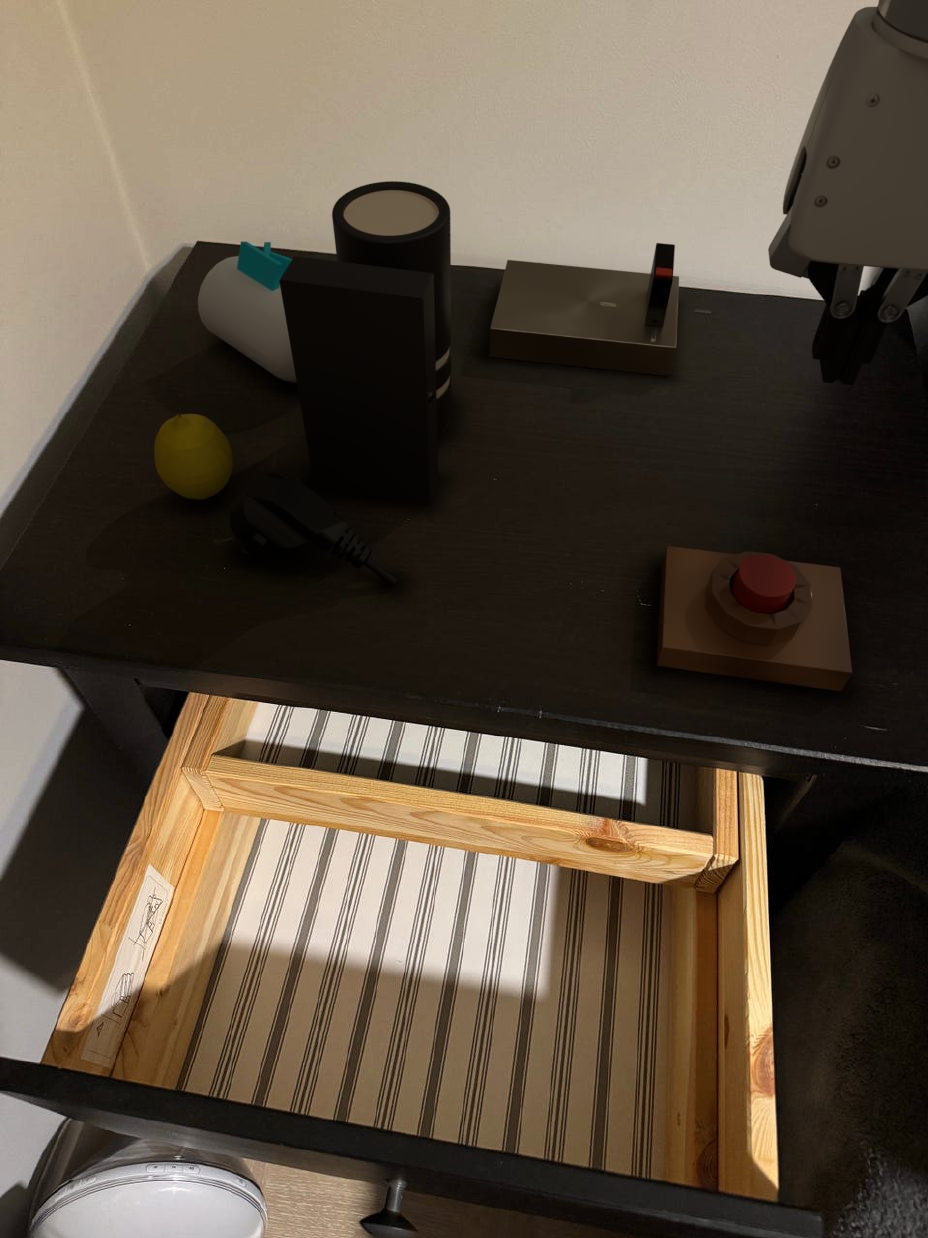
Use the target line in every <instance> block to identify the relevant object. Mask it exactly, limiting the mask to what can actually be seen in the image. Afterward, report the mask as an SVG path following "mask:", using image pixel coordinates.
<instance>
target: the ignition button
mask: <svg viewBox="0 0 928 1238" xmlns="http://www.w3.org/2000/svg"><path fill="white" fill-rule="evenodd" d="M779 558H780V557H779ZM779 558H776V557H774V556H770V555H754V556H751V557H748V558H747V559H745V560H744V561H743V562H742V563H741V565H740V567H739V570H738V572H737V575H736V578H735V580H734V583H733V593H734V596H735V598H736V599H737V601H738V602H739V603H740V604H741V605H742V606H744V607H745V608H747V609H749V610H751V611H754V612H757V613H764V614H767V613H774V612H777V611H779V610H781V609H782V608H783V607H784V606H785V605H786V603H787V601H788V599H789V597H790V595H791V593H792V591H793V588H794V586H795V583H796V578H795V574H794V572H793V570H792V569H791V567H790V566H789V565H788V564H787V563H785V562H784V561H782V560H781V559H782V558H781V559H779Z"/></svg>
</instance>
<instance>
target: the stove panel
mask: <svg viewBox="0 0 928 1238" xmlns="http://www.w3.org/2000/svg"><path fill="white" fill-rule="evenodd" d="M650 275H651V273H648V272H637V271H628V270H627V271H626V270H617V269H606V268H598V267H597V268H596V267H587V266H586V267H585V266H576V265H567V264H554V263H546V262H535V261H534V262H533V261H526V260H525V261H523V260H516V259H515V260H513V259H507V260H506V265H505V269H504V272H503V276H502V281H501V284H500V288H499V291H498V292H499V293H498V296H497V300H496V304H495V307H494V312H493V316H492V320H491V323H490V327H489V349H488V350H489V353H488V356H489V358H496V359H507V360H515V361H525V362H533V363H544V364H552V365H561V366H570V367H582V368H589V369H598V370H600V369H601V370H607V371H608V370H609V371H617V372H625V373H637V374H646V375H654V376H663V377H670V376H671V373H672V370H673V365H674V360H675V356H676V351H677V340H678V319H679V315H678V313H679V292H680V290H679V289H680V276H679V275H673V282H672V286H671V291H670V296H669V301H668V306H667V310H666V315H665V320H664V325H663V326H655V325H646V324H645V316H646V305H647V294H648V286H649V281H650ZM694 314H699V315H701V314H702V315H711V314H712V310H706V309H697V308H695V309H694Z"/></svg>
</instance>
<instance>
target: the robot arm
mask: <svg viewBox="0 0 928 1238" xmlns="http://www.w3.org/2000/svg"><path fill="white" fill-rule="evenodd" d="M825 74H826V75H825V77H824V79H823V82H822V84H821V87H820V89H819V91H818V94H817V97H816V99H815V102H814V104H813V107H812V110H811V113H810V115H809V117H808V120H807V124H806V126H805V129H804V131H803V135H802V136H801V140H800V143H799V146H798V148H797V151H796V154H795V157H794V161H793V163H792V166H791V169H790V172H789V176H788V179H787V183H786V186H785V190H784V195H783V201H782V215H786V216H785V217H784V219H783V221H782V222H781V224H780V226H779V227H778V230H777V232H776V233H775V235H774V237H773V239H772V240H771V242H770V243H769V246H768V249H767V250H768V251H767V252H768V261H769V266H770V268H771V269H773V270H775V271H777V272H778V271H779V272H780V273H784V274H787V275H790V276H793V277H797V278H799V279H801V278H803V279H807V280H809V282H810V283H811V285H812V287H814V289H815V290H816V292H817V293H818V294H819V296H820V297H821V298H822V300H823V302H824V303H825V306H824V308H823V311H822V314H821V317H820V319H819V323H818V326H817V328H816V331H815V334H814V337H813V340H812V345H811V346H812V347H811V355H812V359H813V360H819V366H820V373H821V379H822V383H825V384H834V383H835V382H838V381H839V382H841V383H842V385H848V386H853V385H854V384H855V383H856V380H857V378H858V375H859V374H860V371H861V368H862V366H863V364H864V365H866V364H868V365H869V364H871V363H872V361H873V359H874V357H875V354H876V352H877V350H878V348H879V345H880V343H881V340H882V338H883V335H884V333H885V330H886V328H887V326H888V324H890V323H891V324H892V323H894V322H896V321H897V320H899V319H900V318H901V316H902V315H903V313H904V311H905V310H906V308H908V307H910V306H912V305H913V304H915V303H917V302H919V301H921V300H922V299H924V298H926V297H928V0H878V3H877V6H865V7H862V8H860V9H858V10H857V11H856V12H855V13H854V15H853V16H852V18H851V20H850V21H849V24H848V26H847V28H846V30H845V32H844V34H843V36H842V38H841V40H840V42H839V44H838V46H837V49H836V51H835V53H834V56H833V58H832V60H831V63H830V65H829V67H828V69H827V71H826V73H825ZM865 267H869V268H878V270H877V272H876V274H875V275H874V277H873V279H872V281H871V284H870V286H869V287H868V288H866V289H861V290H860V286H861V282H862V277H863V272H864V268H865Z"/></svg>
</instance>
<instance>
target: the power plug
mask: <svg viewBox="0 0 928 1238" xmlns="http://www.w3.org/2000/svg"><path fill="white" fill-rule="evenodd" d="M229 513H230V514H229V524H230V528H231V531H232V534H233V535H234V537H235V538H236V539H237V540H238V541H240V542H241V543H242V544H244V545H243V546H242V548H241V552H242V554H243V555H245V556H250V555H251V556H253V557H254V556H256V555H258V556H260V557H261V558H262V559H264V560H265V561H267V562H271V563H272V562H273V563H275V562H283V561H287V560H289V559H291V558H292V557H294V556H295V555H297V554H299V552H300V551H301V550H302V549H303V548H305V546H307V544H308V543H311V544H313V546H315V547H316V548H318V549H320V550H321V551H324V552H325V553H328V552H329V551H330V550H331V549H332V548H333V549H332V550H331V551H330V553H329V554H330V555H331V556H333V557H335V556H336V555H337V556H336V558H337V559H339V560H342V559H343V558H345V559H344V561H343V562H344V563H346V564H349V563H351V564H350V566H352V567H353V568H356V569H360V568H361V567H363V566H365V567H366V568H367V569H369V570H370V571H371V572H373V573H374V574H375V575H377V576H378V577H379V578H380V579H381V580H383V581H384V582H386V583H387V584H388V585H389V586H390V587H394V586H395V585H396V584H397V582H398V580H399V579H398V578H397V577H396V576H394V575H393V574H392V573H391V572H389V571H388V570H387V569H386V568H384V567H383V566H382V565H380V564H379V563H378V562H376V561H375V560H374V559H373V558H371V554H372V553H373V550H372V548H371V547H370V546H369V545H368V544H366V545H365V541H364V540H363V539H362V538H361V539H360V540H359V541H358V539H359V537H360V535H359V534H358V532H355V533H353V532H354V531H355V530H354V528H353V527H351V526H350V527H349V528H348V526H349V523H348V522H347V521H346V520H345V519H344V518H342V517H341V516H340V515H339V514H337V512H336V507H335V506H333V505H332V504H331V503H330V502H328V501H327V500H326V499H324V497H322V496H320V495H319V494H318V493H317V492H316V491H314V490H313V489H312V488H310V486H308V485H307V484H306V483H304V482H303V481H302V480H301V479H298V478H297V479H296V478H293V479H290V478H288V477H287V476H286V475H284V474H282V473H281V474H280V473H275V472H273V473H272V472H263V473H261V474H259V475H258V476H256V477H255V478H254V479H252V480H251V481H250V482H249V483H248V485H247V486H246V487H245V488H244V490H243V491H242V492H241V494H240V495H239V496H238V498H237V499H236V500H235V501H234V503H233V504H232V507H231V508H230V512H229ZM347 528H348V529H347ZM346 529H347V530H346Z"/></svg>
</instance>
